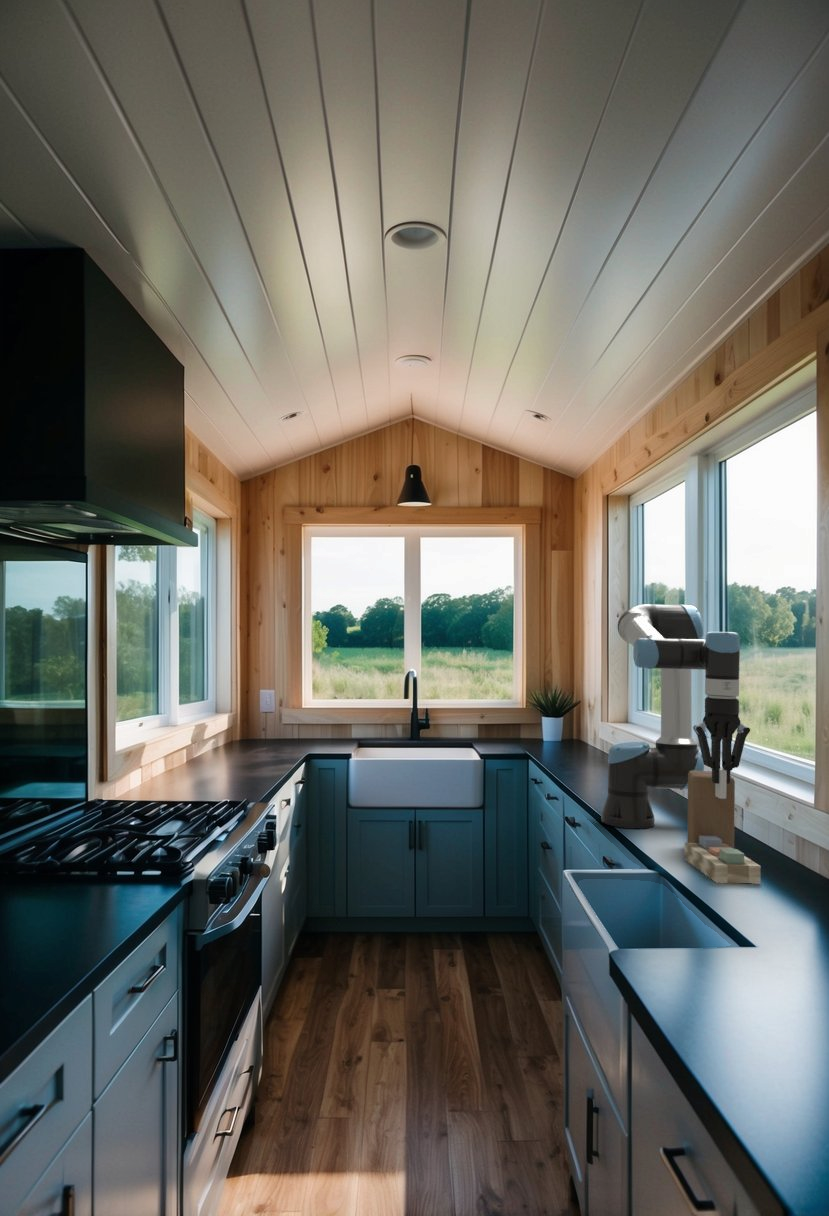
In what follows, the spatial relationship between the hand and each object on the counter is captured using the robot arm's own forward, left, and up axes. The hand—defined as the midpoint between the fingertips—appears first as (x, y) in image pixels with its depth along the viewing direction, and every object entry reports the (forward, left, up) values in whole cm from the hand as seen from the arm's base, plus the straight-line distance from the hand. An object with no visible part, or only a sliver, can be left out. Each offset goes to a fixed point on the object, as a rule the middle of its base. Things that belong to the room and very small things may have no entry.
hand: (720, 797), depth 184 cm
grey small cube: (-6, 0, -15) cm, 16 cm away
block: (-16, +4, -17) cm, 24 cm away
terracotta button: (0, 0, -16) cm, 16 cm away
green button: (+6, 0, -15) cm, 16 cm away
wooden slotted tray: (0, 0, -17) cm, 17 cm away
